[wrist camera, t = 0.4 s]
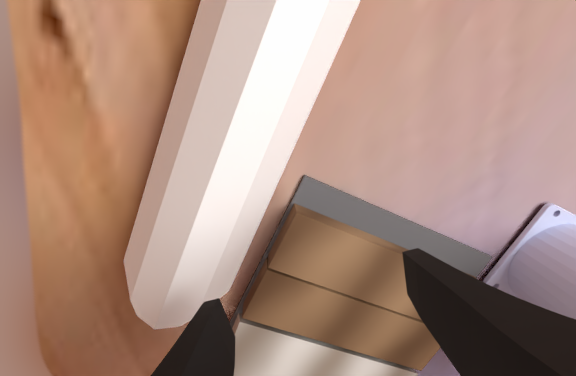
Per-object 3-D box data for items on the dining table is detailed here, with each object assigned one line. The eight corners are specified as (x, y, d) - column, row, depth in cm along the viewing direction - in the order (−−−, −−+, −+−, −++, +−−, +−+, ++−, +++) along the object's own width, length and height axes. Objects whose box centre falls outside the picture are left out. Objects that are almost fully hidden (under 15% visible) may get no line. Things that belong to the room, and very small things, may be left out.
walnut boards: (474, 276, 22) (488, 289, 21) (412, 354, 25) (421, 370, 23) (294, 203, 19) (296, 212, 17) (243, 302, 21) (242, 317, 20)
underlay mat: (489, 255, 22) (492, 257, 22) (357, 421, 28) (358, 425, 28) (304, 174, 19) (304, 176, 18) (197, 384, 24) (197, 388, 24)
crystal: (250, 334, 18) (467, -93, 11) (125, 365, 14) (367, -330, 7) (211, 259, 23) (344, -64, 17) (112, 263, 19) (240, -186, 12)
